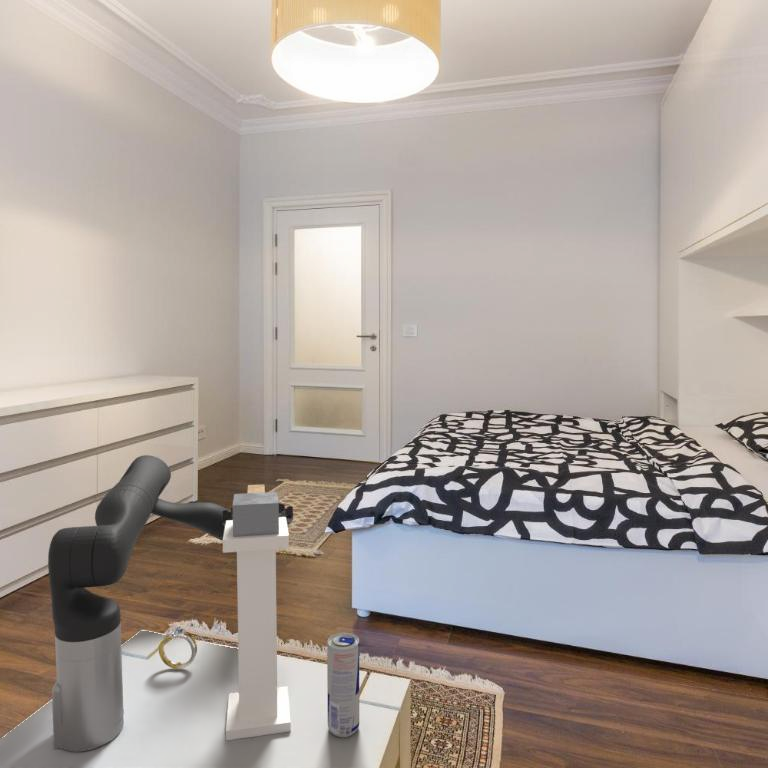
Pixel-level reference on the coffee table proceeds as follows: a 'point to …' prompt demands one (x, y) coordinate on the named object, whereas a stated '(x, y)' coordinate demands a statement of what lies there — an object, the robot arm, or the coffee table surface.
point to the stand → (257, 637)
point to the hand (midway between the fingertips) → (258, 508)
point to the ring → (177, 634)
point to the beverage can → (343, 684)
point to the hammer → (255, 512)
